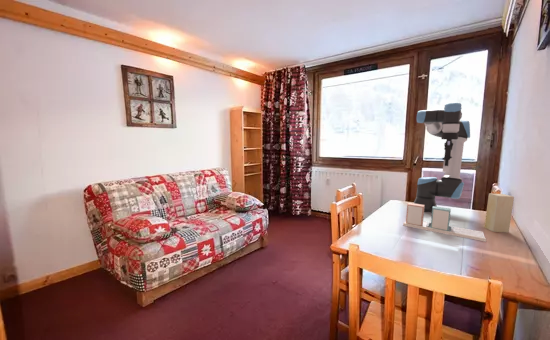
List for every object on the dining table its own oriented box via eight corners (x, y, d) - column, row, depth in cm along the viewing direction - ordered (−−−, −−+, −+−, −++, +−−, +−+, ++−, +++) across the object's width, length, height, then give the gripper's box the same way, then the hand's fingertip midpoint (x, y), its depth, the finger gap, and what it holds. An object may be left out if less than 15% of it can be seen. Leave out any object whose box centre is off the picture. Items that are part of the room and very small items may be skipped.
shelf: (407, 220, 153) (407, 215, 152) (482, 234, 132) (483, 228, 132) (402, 227, 140) (403, 222, 140) (485, 244, 119) (486, 237, 119)
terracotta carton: (406, 222, 145) (408, 202, 143) (422, 225, 140) (424, 204, 139) (405, 224, 141) (407, 204, 139) (421, 227, 136) (423, 206, 135)
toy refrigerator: (498, 230, 139) (503, 193, 136) (509, 235, 132) (514, 196, 129) (482, 229, 140) (487, 193, 137) (492, 234, 133) (497, 196, 130)
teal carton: (430, 226, 138) (433, 206, 137) (448, 230, 133) (450, 208, 132) (430, 229, 134) (432, 207, 133) (448, 232, 130) (450, 210, 128)
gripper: (442, 132, 147) (439, 168, 150) (440, 131, 127) (436, 172, 130) (458, 132, 143) (454, 169, 146) (458, 131, 123) (454, 173, 126)
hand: (446, 170), depth 138 cm, fingers open, 13 cm apart
